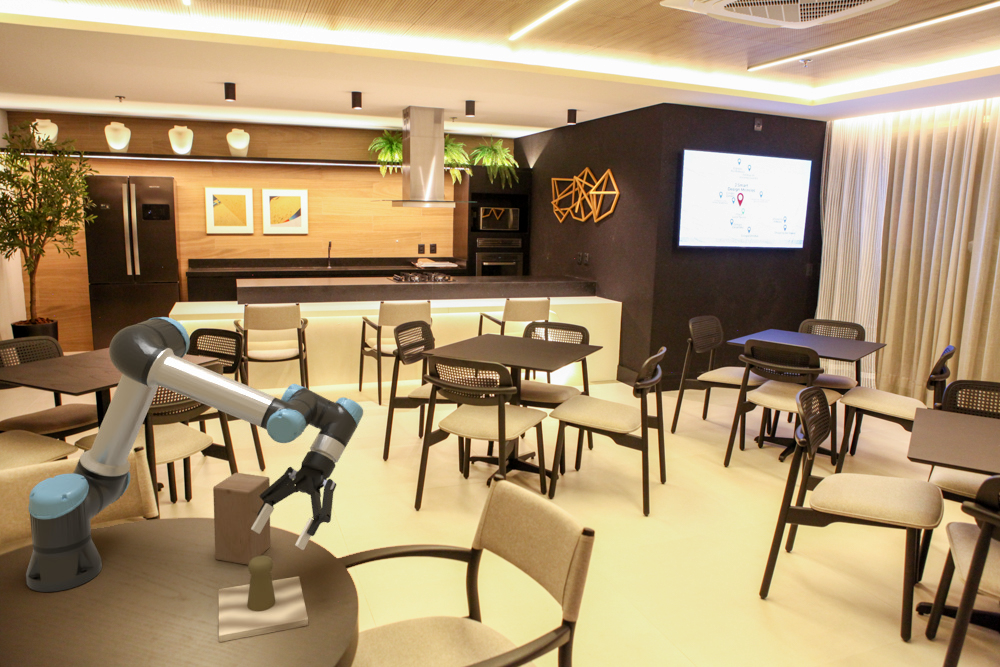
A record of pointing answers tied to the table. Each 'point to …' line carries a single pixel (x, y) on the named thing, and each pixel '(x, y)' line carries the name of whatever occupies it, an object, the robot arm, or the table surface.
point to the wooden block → (239, 518)
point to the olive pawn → (261, 584)
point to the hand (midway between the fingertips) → (276, 539)
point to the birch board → (250, 623)
